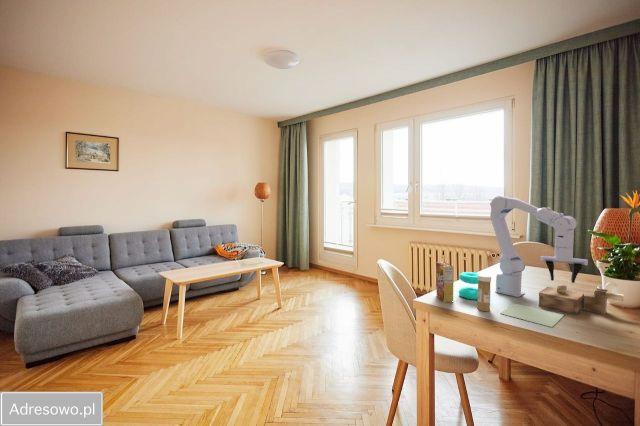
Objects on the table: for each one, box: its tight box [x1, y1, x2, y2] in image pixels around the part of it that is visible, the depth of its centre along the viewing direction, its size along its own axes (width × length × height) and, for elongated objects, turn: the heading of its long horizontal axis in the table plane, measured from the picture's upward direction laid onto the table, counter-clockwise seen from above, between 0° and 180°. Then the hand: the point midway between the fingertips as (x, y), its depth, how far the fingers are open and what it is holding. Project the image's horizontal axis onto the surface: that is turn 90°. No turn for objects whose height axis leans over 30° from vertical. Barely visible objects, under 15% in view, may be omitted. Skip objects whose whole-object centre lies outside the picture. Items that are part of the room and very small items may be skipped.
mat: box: [499, 303, 565, 328], centre depth 116 cm, size 16×16×1 cm
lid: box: [538, 283, 585, 303], centre depth 124 cm, size 12×12×4 cm
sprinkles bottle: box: [476, 273, 492, 312], centre depth 121 cm, size 5×5×14 cm
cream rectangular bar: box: [593, 289, 625, 302], centre depth 117 cm, size 8×2×2 cm, turn 41°
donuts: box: [458, 271, 480, 301], centre depth 137 cm, size 10×10×10 cm
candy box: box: [435, 261, 454, 303], centre depth 133 cm, size 9×4×15 cm, turn 179°
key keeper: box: [583, 287, 608, 315], centre depth 120 cm, size 6×4×8 cm, turn 41°
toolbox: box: [538, 295, 585, 316], centre depth 124 cm, size 12×12×4 cm
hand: (562, 281), depth 123 cm, fingers open, 6 cm apart
